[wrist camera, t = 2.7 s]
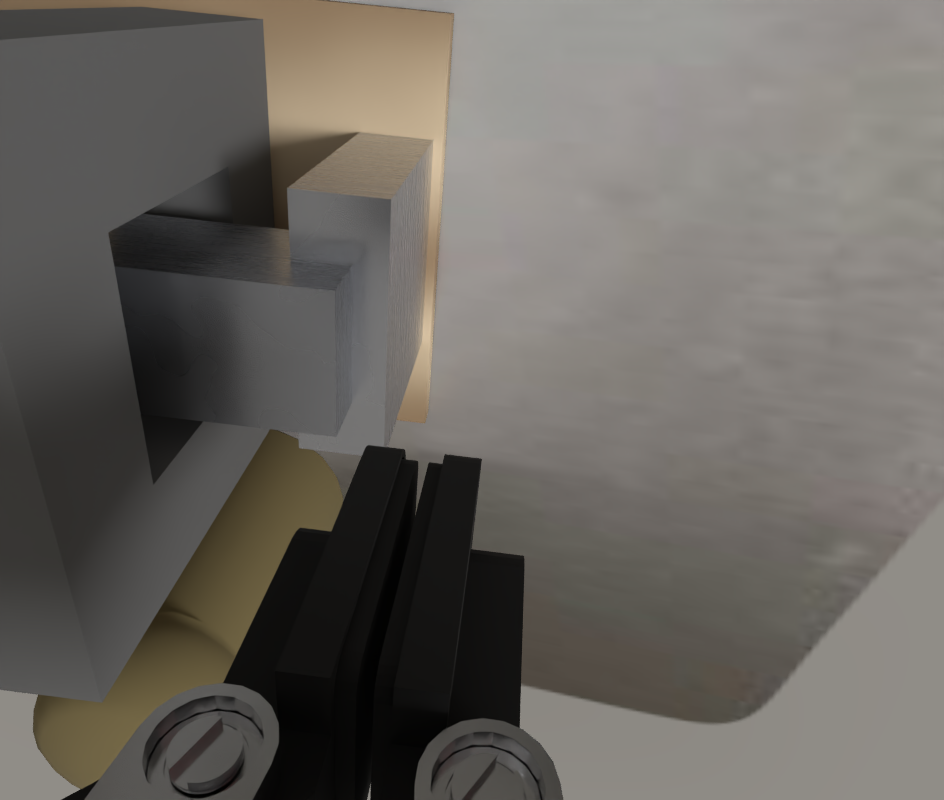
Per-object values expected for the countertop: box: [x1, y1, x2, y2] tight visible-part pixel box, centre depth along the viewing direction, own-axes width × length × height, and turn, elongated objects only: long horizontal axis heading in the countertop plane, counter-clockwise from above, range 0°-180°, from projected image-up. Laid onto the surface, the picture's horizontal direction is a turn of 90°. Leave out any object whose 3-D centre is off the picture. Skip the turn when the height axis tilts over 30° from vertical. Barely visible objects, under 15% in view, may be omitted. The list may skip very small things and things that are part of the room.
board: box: [0, 0, 454, 423], centre depth 21 cm, size 12×26×1 cm, turn 85°
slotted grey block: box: [0, 7, 275, 703], centre depth 15 cm, size 11×3×11 cm, turn 175°
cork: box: [33, 429, 343, 789], centre depth 22 cm, size 6×6×11 cm
